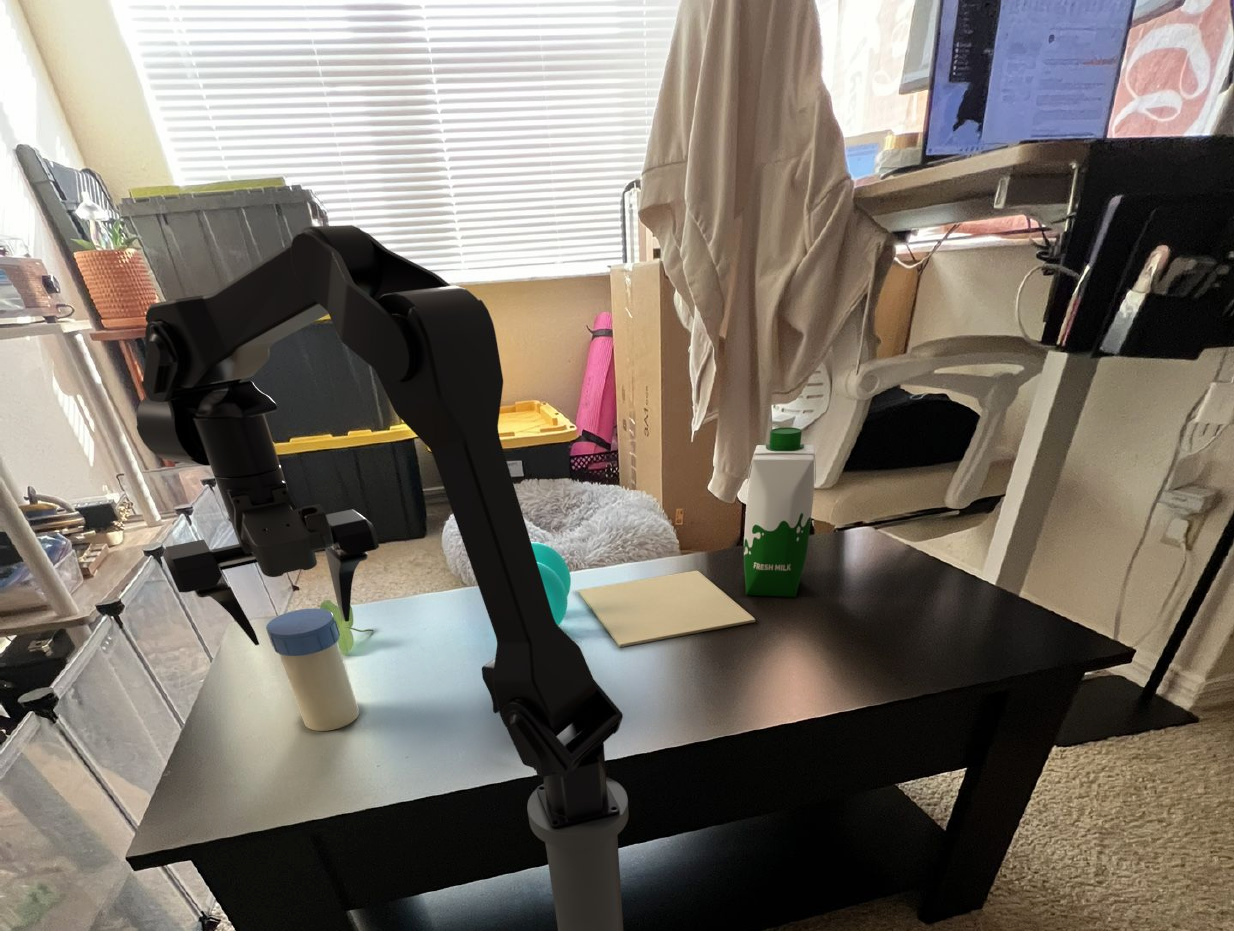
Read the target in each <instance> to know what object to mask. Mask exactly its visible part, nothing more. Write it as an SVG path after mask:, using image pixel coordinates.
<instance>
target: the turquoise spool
mask: <svg viewBox="0 0 1234 931" xmlns="http://www.w3.org/2000/svg"><path fill="white" fill-rule="evenodd" d="M531 544H532V548H533V551H534V554H535V558H536V561H537V564H538V568H539V571H540V574H541V578H542V581H543V584H544V588H545V591H546V594H547V598H548V601H549V604H550V608H551V611H552V614H553V618H554V620H555V622H556V624H557V625H558V626H559V625H561V623H562V622H563V620H564V618H565V616H566V613H567V609H568V597H569V594H570V590H571V585H572V578H571V572H570V569H569V566H568V565H567V562H566V560H565V558H563V556H562V555H561V554H560V553H559V552H558V551H557V550H556V549H554V548H553V547H551V546H550V545H547V544H545V543H542V542H537V541H531ZM559 627H560V626H559Z"/></svg>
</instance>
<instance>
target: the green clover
mask: <svg viewBox="0 0 1234 931" xmlns="http://www.w3.org/2000/svg"><path fill="white" fill-rule="evenodd" d="M319 609H324V610H328V611H330V612H331V613H332V614H333V616H334V619H335V621H336V623H337V627H338V630H339V633H340V635H339V640H338V641H337V642H338V645H339V648H340V651H341V654H342V656H344V655H347V654H348V653H349V652H351V651H352V650H353V647H354V642H355V640H354V639H355V638H354V635H353V632H352V630H353V631H356V632H359V633H365V632H374V629H371V628H368V629H364V630H363V629H357V628H355V627H353V626H354V612H353V608H352V606H351V604H350V617H349V621H348V622H345V621H344V620H343V618H342V615H341V612H340V609H339V607H338V604H337V605H336V604H335V603H334V602H332V601H331V600H330V599H326V600H325V599H324V600H323V601H322V602H321V603H320V606H319Z"/></svg>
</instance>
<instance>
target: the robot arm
mask: <svg viewBox="0 0 1234 931" xmlns="http://www.w3.org/2000/svg"><path fill="white" fill-rule="evenodd" d="M328 315H329V318H330V320H331V323H332V324H333V327H334V329H335V332H336V334H337V336H338V339H339V340H340V341H341V342H342V344H344V345H345V346H346V347H347V348H349V349H350V350H351V352H353V353H354V354H356V356H358V357H359V358H361V359H362V361H364V362H365V363H366V364H368V365H369V366H370V367H371V368H373V369H374V371H375V373H376V376H377V378H378V379H379V381H380V382H379V383H380V384H381V386H382V388H383V390H384V392H385V394H386V396H387V399H388V401H389V402H390V404H391V407H392V409H393V411H394V412H395V414H396V415H397V417H399V419H400V420H401V421H402V422H403V423H404V424H405V425H406V426H407V427H408V428H409V429H410V430H411V431H412V432H413V433H414V434H415V436H417V437H418V439H419V440H420V441H421V442H423V443H424V445H425V446H426V447H428V449H429V450H430V452H431V455H432V456H433V459H434V462H435V465H436V469H437V471H438V474H439V476H440V480H441V482H442V485H443V489H444V491H445V494H446V497H447V500H448V503H449V506H450V509H451V511H452V515H453V518H454V520H455V523H456V526H457V529H458V532H459V534H460V537H461V540H462V543H463V547H464V549H465V552H466V554H467V558H468V561H469V564H470V566H471V569H472V572H473V575H474V578H475V580H476V583H477V586H478V589H479V592H480V595H481V598H482V602H483V604H484V607H485V610H486V612H487V615H488V618H489V621H490V624H491V627H492V630H493V633H494V635H495V640H496V651H495V657H494V659H492V660H490V661H489V662H488V663H486V664H484V665H482V667H481V677H482V680H483V682H484V684H485V686H486V688H487V690H488V692H489V695H490V698H491V702H492V711H493V713H494V714H498V713H499V715H500V716H499V717H500V719H501V721H502V723H503V725H504V727H505V728H506V730H507V732H508V734H509V737H510V739H511V741H512V743H513V746H514V747H515V750H516V752H517V755H518V756H519V759H520V761H521V762H522V765H524V766H525V767H528V768H532V769H533V770H534V771H535V773H536V775H537V776H539V777H542V778H543V783H544V785H542V784H541V785H538V786H537V787H536V789H537V794H538V796H539V799H540V801H541V804H542V806H543V809H544V811H545V814H546V816H547V819H548V821H549V824H550V826H551V828H552V829H560V828H564V827H569V826H573V825H577V824H581V823H586V822H590V821H594V820H598V819H603V818H607V817H611V816H615V815H618V814H619V813H620V809H619V806H618V804H617V802H616V800H615V799H614V797H613V795H612V793H611V791H610V789H609V787H608V785H607V782H606V777H607V770H606V754H605V742H606V741H607V740H608V739H609V738H610V737H611V736H613V735H615V734H616V733H617V732H619V730H620V727H621V724H622V721H623V718H624V715H623V712H622V711H621V710H620V709H619V708H618V707H617V705H616V704H615V703H614V702H613V700H612V699H611V698H610V697H609V696H608V694H607V693H606V692H605V691H604V690H603V688H602V687H601V686H600V685H599V684H598V682H597V681H596V680H595V679H594V677H593V674H592V673H591V669H590V668H589V665H588V663H587V661H586V658H585V656H584V654H583V650H581V647H580V646H579V644H578V643H576V641H575V640H573V638H572V637H571V636H569V635H568V633H566V632H565V631H564V630H563V629H562V628H561V627H560V626H558V625H557V624H556V622H555V620H554V618H553V614H552V611H551V608H550V604H549V601H548V598H547V594H546V591H545V588H544V584H543V581H542V578H541V574H540V571H539V568H538V564H537V561H536V558H535V554H534V551H533V548H532V544H531V542H532V540H531V538H530V535H529V534H530V533H529V531H528V528H527V525H526V522H525V518H524V514H523V511H522V508H521V505H520V501H519V497H518V494H517V492H516V488H515V484H514V482H513V481H514V480H513V478H512V475H511V471H510V468H509V465H508V462H507V459H506V454H505V452H504V451H505V450H504V448H503V444H502V441H501V438H500V434H499V433H500V432H499V420H500V412H501V404H502V396H503V388H504V377H503V370H502V364H501V359H500V353H499V346H498V340H497V335H496V330H495V325H494V321H493V319H492V317H491V314H490V311H489V310H488V308H487V306H486V304H485V303H484V302H483V300H482V299H480V298H477V297H476V296H475V295H474V294H473V293H472V292H470V290H468V289H467V288H464V287H461V286H458V285H451V284H450V283H449V282H448V281H446V280H445V279H443V277H441V276H440V275H438V274H437V273H435V272H433V271H431V270H429V269H427V268H425V267H424V266H421V265H419V264H417V263H415V262H413V261H412V260H409V259H407V258H406V257H405V256H401V255H400V254H398V253H396V252H394V251H392V250H389V249H388V248H387V247H385V246H384V245H383V244H382V243H381V242H379V241H378V240H377V239H376V238H375V237H373V236H372V235H371V234H370V233H368V232H366V231H364V230H362V229H360V228H359V227H357V226H354V225H352V224H350V225H316V226H315V225H314V226H312V225H311V226H307V227H303V229H301V230H300V232H297V233H296V234H295V236H294V237H293V238H292V240H291V242H289V243H288V244H287V245H285V246H284V247H282V248H281V249H279V250H277V251H276V252H274V253H272V254H271V255H270V256H268V257H267V258H265V259H264V260H262V261H260V262H259V263H258V264H256V265H255V266H253V267H251V268H250V269H248V270H246V271H245V272H244V273H242V274H241V275H239V276H238V277H236V278H234V279H233V280H231V281H230V282H228V283H227V284H225V285H224V286H222V287H220V288H219V289H218V290H216V291H214V292H212V293H208V294H201V295H195V296H188V297H187V296H186V297H182V298H174V299H170V300H165V301H159V302H154V303H152V304H150V305H149V306H148V308H147V310H146V314H145V321H146V323H147V324H146V326H145V332H144V338H145V339H144V340H145V341H144V342H145V344H144V345H145V354H144V356H145V366H144V371H143V379H142V380H141V383H140V384H141V387H142V389H143V392H144V394H145V397H143V399H142V400H141V401H140V402H139V405H138V407H137V410H136V424H137V425H136V430H137V433H138V435H139V437H140V439H141V441H142V443H143V444H144V446H146V448H147V449H148V450H150V452H151V453H153V454H154V455H155V456H157V457H158V458H161V459H163V460H165V461H169V462H175V463H184V464H191V465H198V466H203V467H204V466H205V467H206V466H207V467H210V470H211V471H212V474H213V478H214V479H215V480H214V481H215V483H216V485H217V488H218V490H219V491H218V492H219V494H220V496H221V499H222V502H223V504H224V506H225V510H226V512H227V516H228V518H229V520H230V523H231V526H232V529H233V532H234V534H235V537H236V539H237V542H238V543H237V544H232V545H228V546H227V545H226V546H222V547H217V548H213V549H211V547H210V546H209V544H208V543H207V541H206V539H204V538H203V539H199V540H193V541H189V542H184V543H179V544H173V545H169V546H165V548H164V550H163V552H162V557H163V559H164V562H165V564H166V567H167V568H168V571H169V573H170V575H171V577H172V580H173V583H174V585H175V586H176V589H177V591H178V593H185V594H187V593H191V592H195V594H196V597H198V598H208V597H210V598H211V599H213V601H216V602H217V603H218V604H219V605H220V606H221V607H222V609H224V610H225V611H226V612H227V613H228V614H229V615H230V617H232V619H233V620H234V621H235V622H236V623H237V625H238V627H240V629H241V630H242V631H243V632H244V633H245V635H246V636H247V637H248V638H249V639H250V641H251V642H252V644H254V645H255V646H260V642H259V639H258V636H257V634H256V631H255V629H254V627H253V625H252V624H251V621H249V619H248V617H247V615H246V613H245V611H244V610H243V607H242V606H241V604H240V603H239V601H238V599H237V597H236V595H235V593H234V590H233V589H232V587H231V585H230V584H229V582H228V581H227V579H226V577H225V576H224V574H223V571H224V570H229V569H233V568H238V567H243V566H247V565H252V564H258V567H259V569H260V571H261V572H262V574H263V575H264V576H266V577H269V578H277V577H282V576H283V575H284V574H288V573H291V572H296V571H300V570H303V571H309V570H312V569H313V568H315V567H316V566H317V564H318V561H317V557H316V552H317V551H321V550H324V551H325V555H326V559H327V564H328V568H329V573H330V577H331V581H332V585H333V586H332V587H333V590H334V595H335V598H336V603H337V606H338V607H339V609H340V612H341V615H342V618H343V620H344V621H345V622H348V621H349V617H350V605H351V600H352V587H353V582H354V581H353V580H354V575H355V571H356V569H357V568H358V566H359V564H360V562H363V561H366V560H368V558H369V557H368V556H369V555H368V553H367V552H372V551H376V550H377V549H379V548H380V544H379V540H378V536H377V532H376V530H375V527H374V525H373V523H372V522H371V521H370V520H368V519H367V518H366V517H364V516H363V515H362V514H361V513H359V512H357V511H356V510H355V509H348V510H344V511H343V510H342V511H337V512H333V513H328V514H327V513H326V511H325V510H324V508H323V506H322V504H320V503H318V504H313V505H312V504H311V505H308V506H303V507H300V508H298V507H297V506H296V504H295V503H294V502H293V500H292V499H291V494H290V491H289V488H288V485H287V482H286V479H285V476H284V473H283V469H282V466H281V464H280V460H279V456H278V454H277V450H276V446H275V444H274V441H273V438H272V434H271V431H270V428H269V425H268V422H267V419H266V418H267V417H266V415H267V414H270V413H276V412H277V411H278V404H277V403H276V402H275V401H274V400H273V399H272V398H271V397H270V396H269V395H267V394H265V392H262V391H261V390H259V388H258V387H257V386H256V385H255V384H254V382H253V381H251V380H246V379H247V378H251V377H253V376H254V375H255V374H256V373H257V372H259V370H260V369H261V368H263V366H264V365H265V364H266V363H267V362H268V361H269V359H270V355H271V354H270V353H271V352H270V348H271V347H272V346H273V345H274V344H275V343H276V342H279V341H280V340H282V339H284V338H286V337H288V336H290V335H292V334H293V333H296V332H297V331H299V330H301V329H303V328H305V327H307V326H308V325H310V324H312V323H315V322H317V321H318V320H320V319H323V318H325V317H326V316H328ZM245 380H246V381H245Z"/></svg>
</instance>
